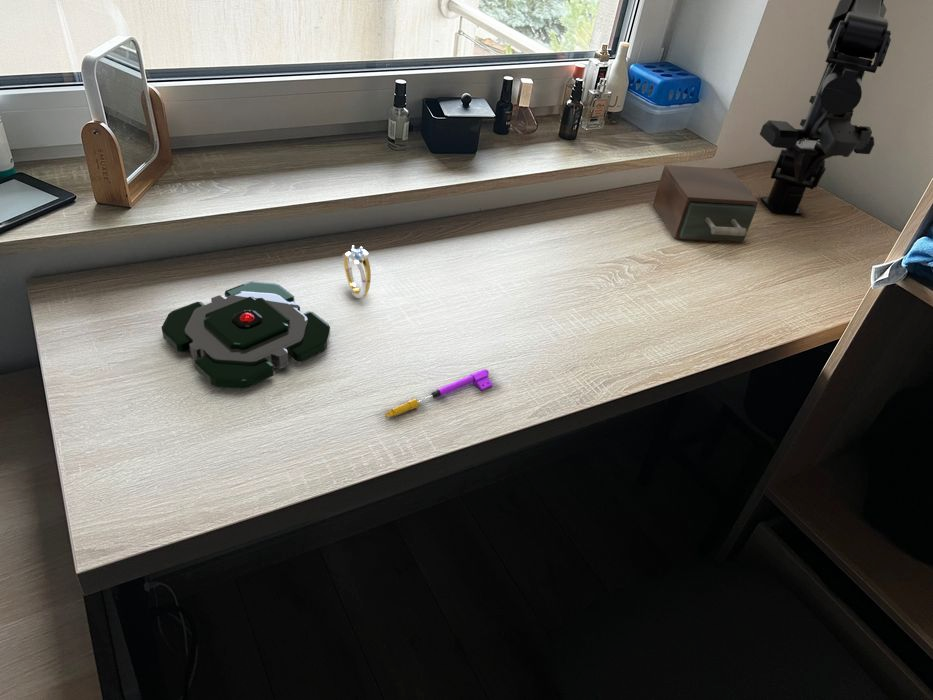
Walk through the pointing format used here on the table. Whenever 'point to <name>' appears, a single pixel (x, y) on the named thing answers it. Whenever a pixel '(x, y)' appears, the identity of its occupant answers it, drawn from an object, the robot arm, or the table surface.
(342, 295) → the table surface
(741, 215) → the drawer
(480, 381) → the purple and gold rod
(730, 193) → the cabinet
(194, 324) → the clover-shaped pad
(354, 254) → the ring
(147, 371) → the table surface
